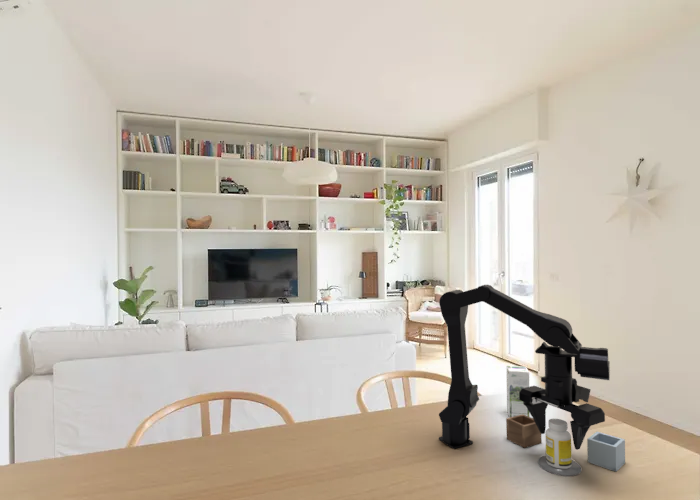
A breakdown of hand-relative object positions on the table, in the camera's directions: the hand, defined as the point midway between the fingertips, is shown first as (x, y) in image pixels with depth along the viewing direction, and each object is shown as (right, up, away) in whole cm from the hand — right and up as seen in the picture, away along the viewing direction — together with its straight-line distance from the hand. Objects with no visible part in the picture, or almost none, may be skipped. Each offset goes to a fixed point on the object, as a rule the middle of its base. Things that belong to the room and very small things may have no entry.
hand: (559, 441), depth 100 cm
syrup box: (+2, -6, +30) cm, 31 cm away
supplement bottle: (0, -6, 0) cm, 6 cm away
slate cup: (+12, -6, +1) cm, 13 cm away
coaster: (0, -6, 0) cm, 6 cm away
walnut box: (-3, -6, +13) cm, 15 cm away
